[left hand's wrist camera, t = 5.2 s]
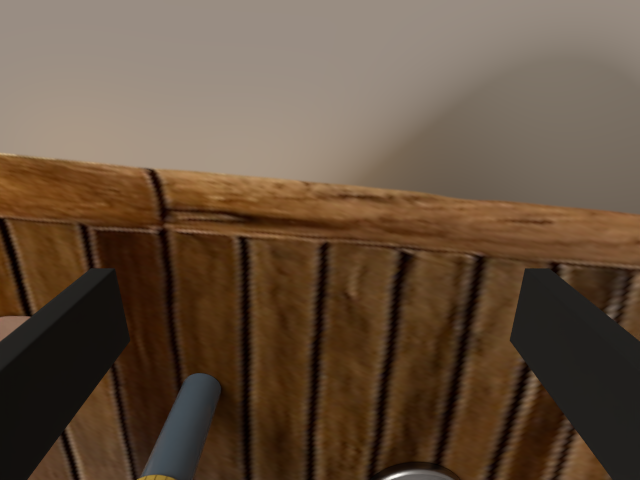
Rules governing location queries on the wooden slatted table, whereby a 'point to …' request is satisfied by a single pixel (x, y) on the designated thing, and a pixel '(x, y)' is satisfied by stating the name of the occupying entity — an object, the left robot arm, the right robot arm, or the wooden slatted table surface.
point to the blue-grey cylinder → (185, 429)
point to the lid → (156, 477)
